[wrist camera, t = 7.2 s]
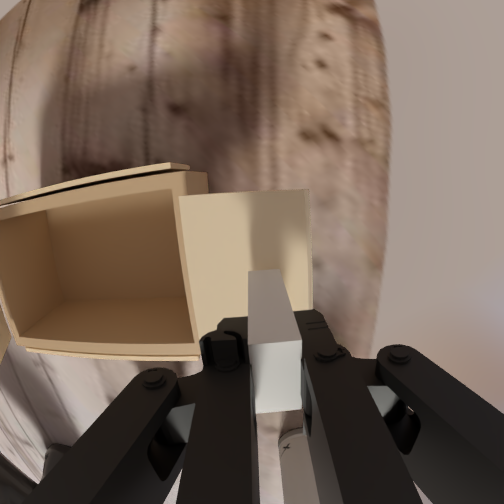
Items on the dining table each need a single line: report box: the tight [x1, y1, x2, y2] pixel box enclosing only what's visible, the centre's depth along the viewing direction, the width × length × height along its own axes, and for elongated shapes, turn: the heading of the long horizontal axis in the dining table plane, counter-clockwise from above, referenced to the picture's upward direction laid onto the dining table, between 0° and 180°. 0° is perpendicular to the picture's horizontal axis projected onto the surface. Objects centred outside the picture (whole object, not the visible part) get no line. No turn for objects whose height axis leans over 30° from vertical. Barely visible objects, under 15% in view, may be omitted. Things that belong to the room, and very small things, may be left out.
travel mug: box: [278, 428, 320, 504], centre depth 27 cm, size 6×7×20 cm
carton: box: [0, 162, 209, 361], centre depth 25 cm, size 20×14×10 cm
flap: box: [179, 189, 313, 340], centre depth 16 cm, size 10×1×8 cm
